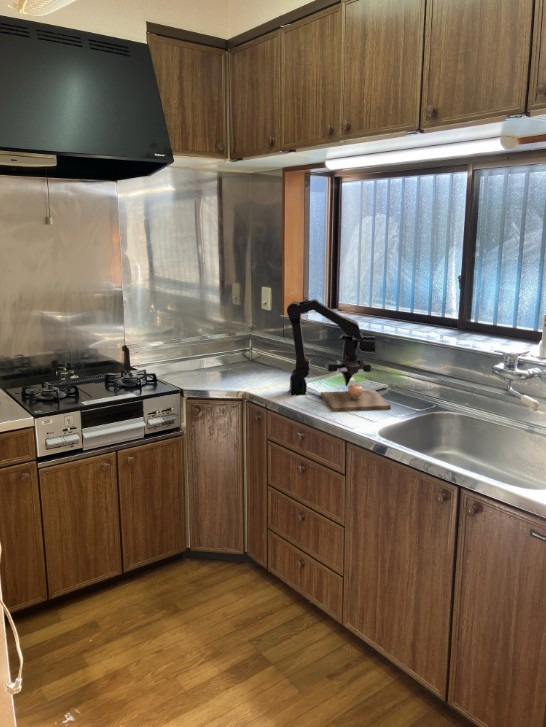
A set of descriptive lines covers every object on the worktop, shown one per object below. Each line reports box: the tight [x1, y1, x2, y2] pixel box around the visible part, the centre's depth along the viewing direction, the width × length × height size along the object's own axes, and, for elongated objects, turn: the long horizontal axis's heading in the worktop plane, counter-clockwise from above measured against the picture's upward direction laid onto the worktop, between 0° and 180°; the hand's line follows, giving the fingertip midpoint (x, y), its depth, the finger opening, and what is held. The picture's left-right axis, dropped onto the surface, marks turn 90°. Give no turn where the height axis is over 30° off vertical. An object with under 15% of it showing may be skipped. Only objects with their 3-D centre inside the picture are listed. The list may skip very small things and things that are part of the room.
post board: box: [320, 389, 392, 412], centre depth 247 cm, size 24×20×3 cm
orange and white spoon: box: [347, 377, 363, 396], centre depth 251 cm, size 16×6×3 cm, turn 179°
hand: (346, 385), depth 255 cm, fingers closed
